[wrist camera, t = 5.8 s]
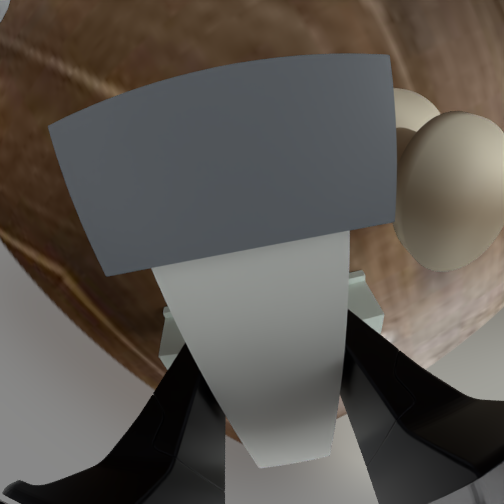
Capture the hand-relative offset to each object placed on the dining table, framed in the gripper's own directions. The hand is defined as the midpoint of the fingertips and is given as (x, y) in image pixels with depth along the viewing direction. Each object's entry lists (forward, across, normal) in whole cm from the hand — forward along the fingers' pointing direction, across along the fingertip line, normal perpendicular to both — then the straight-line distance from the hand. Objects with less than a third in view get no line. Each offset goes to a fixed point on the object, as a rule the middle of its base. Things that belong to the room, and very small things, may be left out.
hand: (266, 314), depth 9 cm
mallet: (+1, 0, 0) cm, 1 cm away
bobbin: (+8, -9, -2) cm, 12 cm away
